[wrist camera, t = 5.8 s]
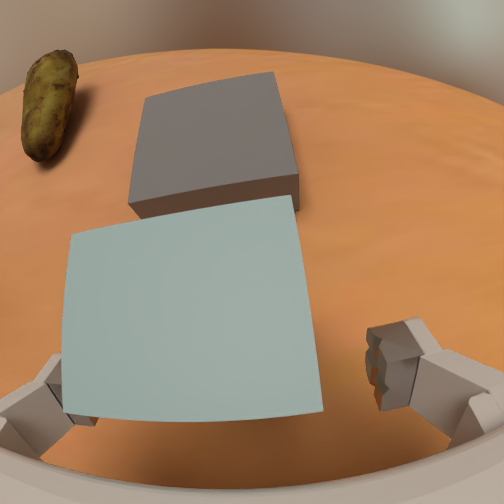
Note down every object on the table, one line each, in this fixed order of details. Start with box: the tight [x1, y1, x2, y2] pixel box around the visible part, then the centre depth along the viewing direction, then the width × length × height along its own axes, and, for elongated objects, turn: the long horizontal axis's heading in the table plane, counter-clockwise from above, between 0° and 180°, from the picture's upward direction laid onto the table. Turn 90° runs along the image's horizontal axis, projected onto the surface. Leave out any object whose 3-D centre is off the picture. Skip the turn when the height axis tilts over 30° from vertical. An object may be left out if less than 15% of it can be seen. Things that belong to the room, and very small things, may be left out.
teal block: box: [61, 195, 323, 422], centre depth 12 cm, size 4×5×13 cm
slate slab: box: [128, 72, 299, 219], centre depth 21 cm, size 10×10×4 cm
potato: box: [21, 50, 79, 162], centre depth 26 cm, size 8×13×8 cm, turn 168°
